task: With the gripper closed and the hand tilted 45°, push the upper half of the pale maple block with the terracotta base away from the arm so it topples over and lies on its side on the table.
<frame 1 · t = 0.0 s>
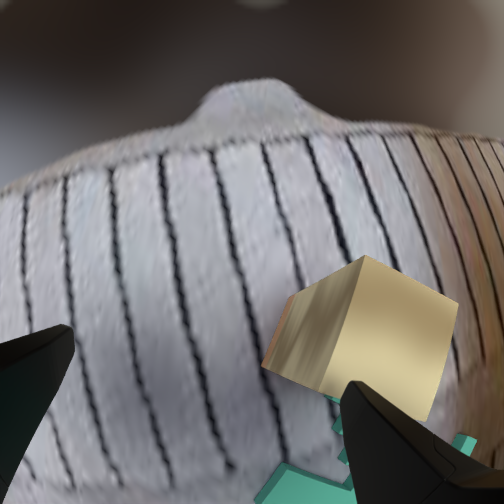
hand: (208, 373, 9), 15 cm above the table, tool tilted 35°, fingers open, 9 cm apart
maple block: (308, 345, 24), on the table
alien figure: (359, 498, 21), on the table
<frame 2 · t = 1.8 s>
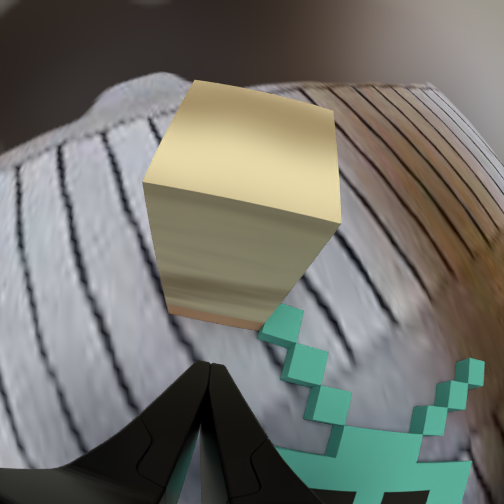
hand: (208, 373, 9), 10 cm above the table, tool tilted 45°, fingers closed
maple block: (221, 281, 22), on the table
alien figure: (358, 472, 17), on the table
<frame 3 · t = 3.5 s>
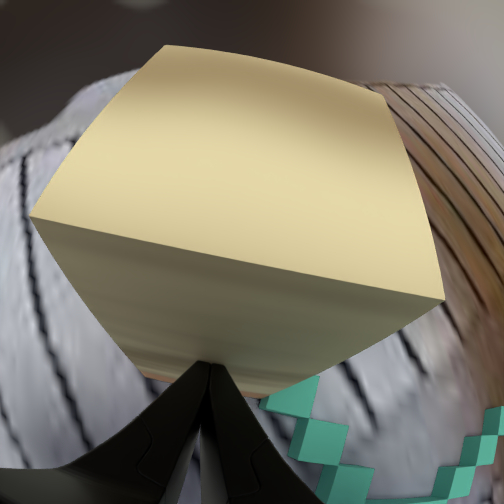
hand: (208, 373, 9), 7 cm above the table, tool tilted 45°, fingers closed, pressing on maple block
maple block: (212, 335, 16), on the table, touching gripper
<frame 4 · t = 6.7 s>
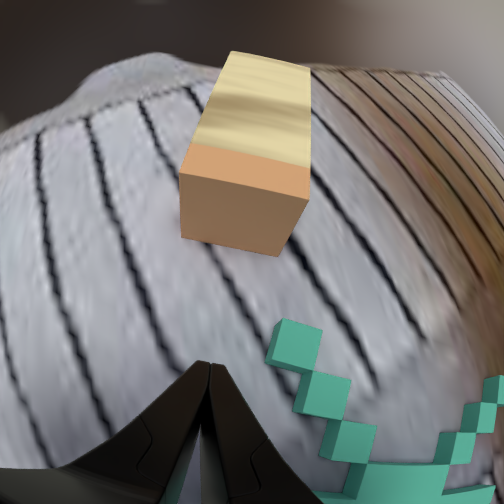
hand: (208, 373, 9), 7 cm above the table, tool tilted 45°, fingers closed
maple block: (235, 220, 16), point 3 cm above the table, tilted 90°
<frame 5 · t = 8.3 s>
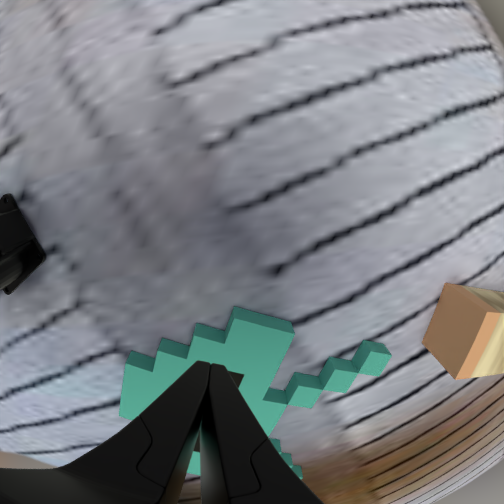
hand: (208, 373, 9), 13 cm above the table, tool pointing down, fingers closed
maple block: (451, 329, 21), point 3 cm above the table, tilted 90°
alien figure: (236, 404, 26), on the table
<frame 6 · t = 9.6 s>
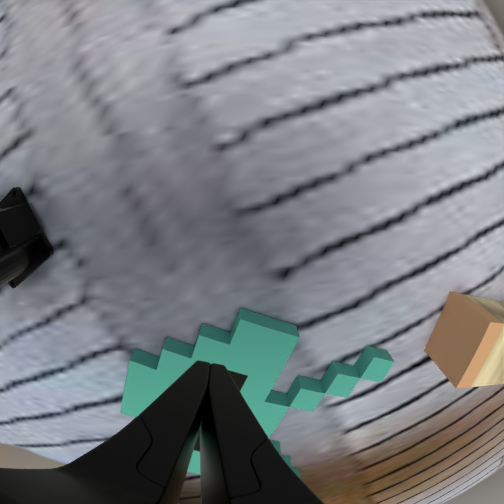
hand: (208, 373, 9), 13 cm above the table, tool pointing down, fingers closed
maple block: (454, 338, 21), point 3 cm above the table, tilted 90°
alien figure: (237, 405, 26), on the table
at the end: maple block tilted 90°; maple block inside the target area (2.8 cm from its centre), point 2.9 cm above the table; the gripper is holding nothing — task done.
